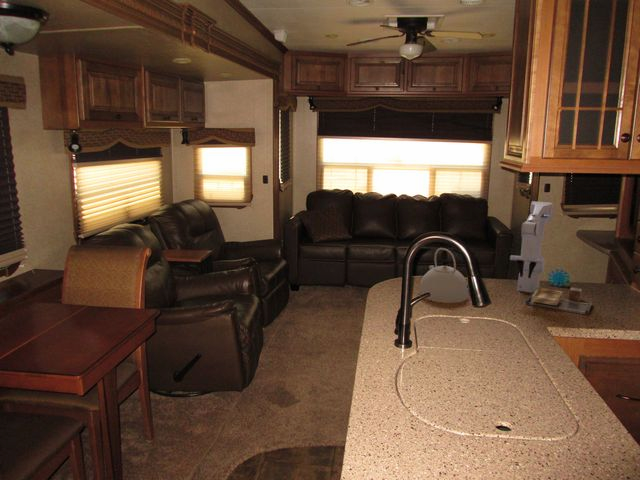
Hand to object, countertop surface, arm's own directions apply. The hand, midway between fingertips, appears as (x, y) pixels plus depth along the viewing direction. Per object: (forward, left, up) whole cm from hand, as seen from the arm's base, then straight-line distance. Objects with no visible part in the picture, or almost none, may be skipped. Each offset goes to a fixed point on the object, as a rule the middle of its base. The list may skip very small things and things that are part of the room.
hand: (525, 277), depth 237 cm
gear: (+10, +33, -11) cm, 36 cm away
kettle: (-34, -15, -11) cm, 38 cm away
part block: (+20, +12, -11) cm, 26 cm away
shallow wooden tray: (+10, 0, -9) cm, 14 cm away
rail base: (+15, 0, -10) cm, 18 cm away
